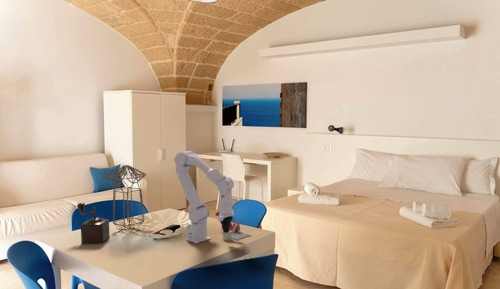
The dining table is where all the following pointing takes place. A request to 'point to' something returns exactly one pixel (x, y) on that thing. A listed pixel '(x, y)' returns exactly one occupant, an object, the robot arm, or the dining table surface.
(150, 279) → the dining table surface
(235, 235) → the mat
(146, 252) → the dining table surface
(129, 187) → the geometric lantern
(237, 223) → the red flower sprig
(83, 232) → the coffee grinder
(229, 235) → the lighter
